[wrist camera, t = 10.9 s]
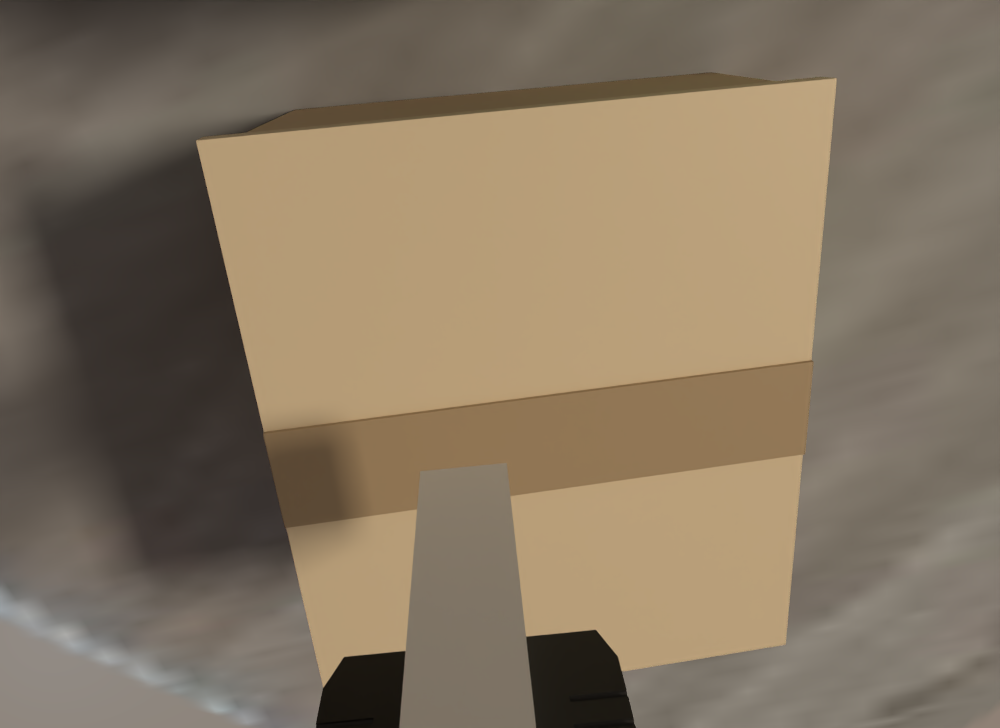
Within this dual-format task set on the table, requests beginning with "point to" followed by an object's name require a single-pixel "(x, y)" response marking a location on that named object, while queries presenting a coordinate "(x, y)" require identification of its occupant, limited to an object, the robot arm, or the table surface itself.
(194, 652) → the table surface
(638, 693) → the table surface
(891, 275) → the table surface
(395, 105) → the carton
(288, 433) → the lid
